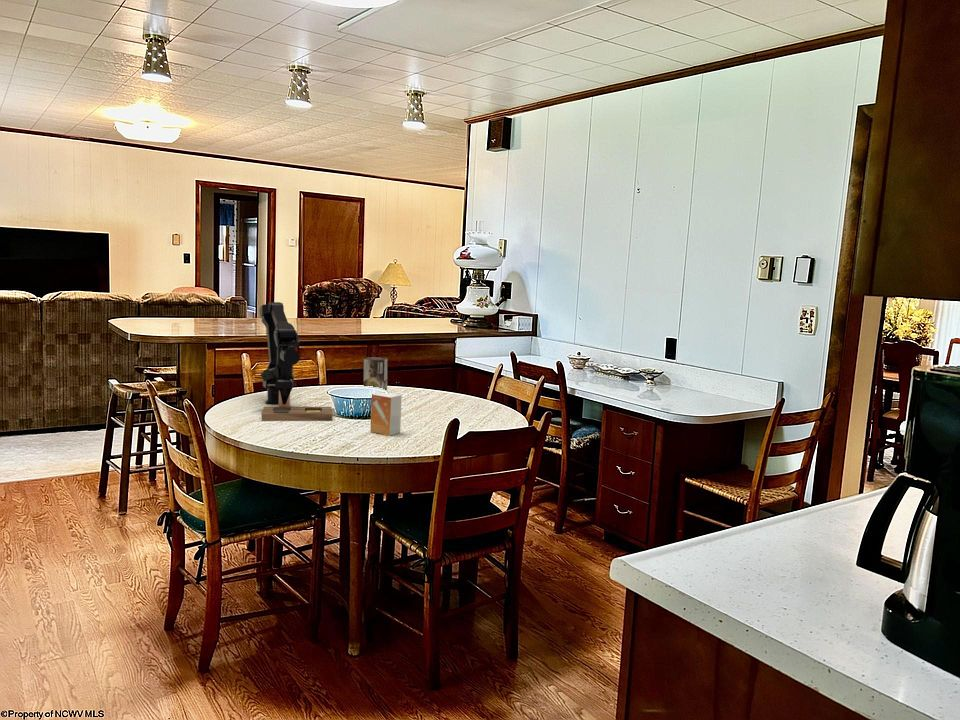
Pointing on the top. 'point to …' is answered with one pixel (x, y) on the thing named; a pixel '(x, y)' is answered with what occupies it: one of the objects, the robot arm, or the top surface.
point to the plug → (282, 403)
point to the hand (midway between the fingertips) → (284, 402)
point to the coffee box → (375, 372)
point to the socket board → (297, 414)
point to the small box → (386, 413)
